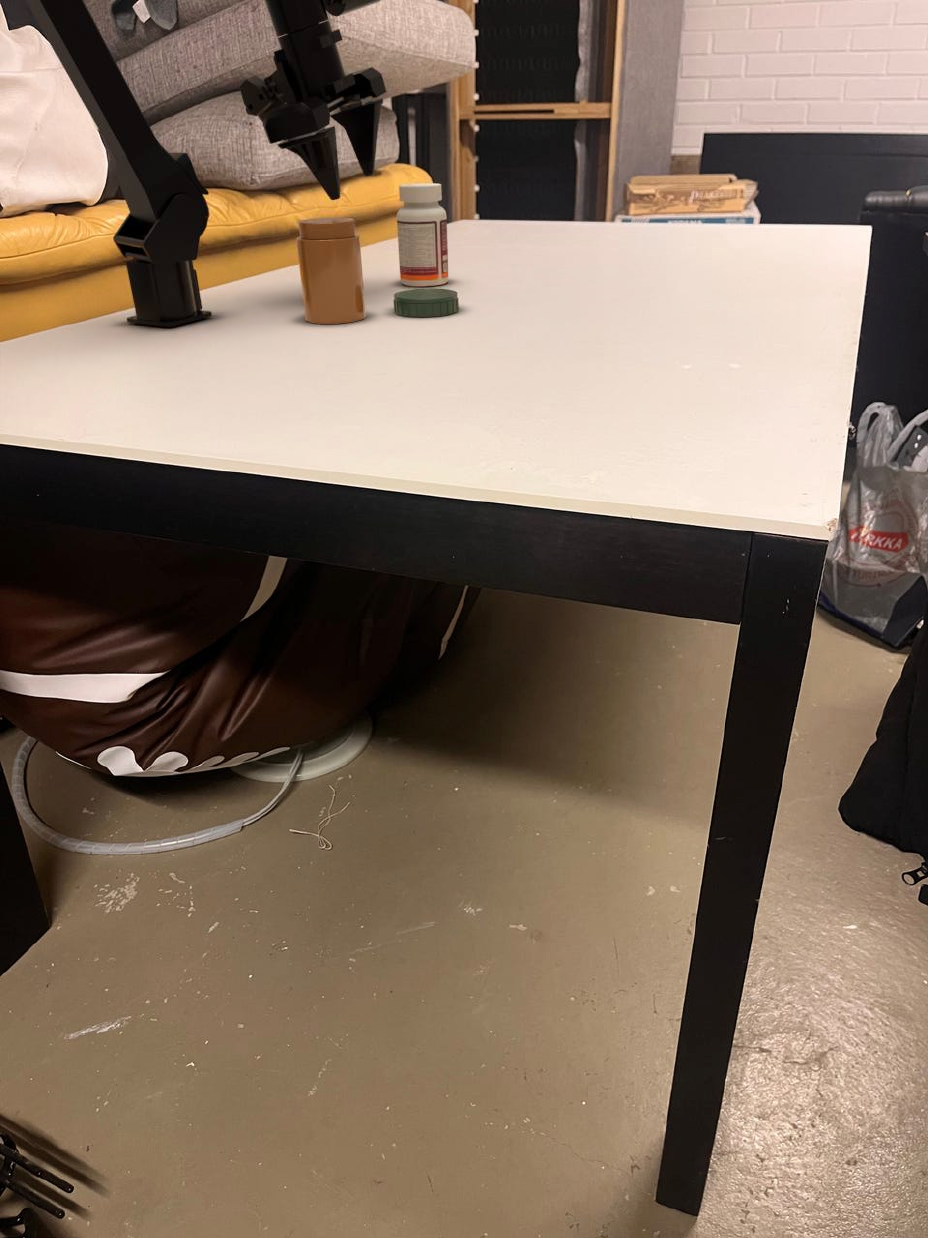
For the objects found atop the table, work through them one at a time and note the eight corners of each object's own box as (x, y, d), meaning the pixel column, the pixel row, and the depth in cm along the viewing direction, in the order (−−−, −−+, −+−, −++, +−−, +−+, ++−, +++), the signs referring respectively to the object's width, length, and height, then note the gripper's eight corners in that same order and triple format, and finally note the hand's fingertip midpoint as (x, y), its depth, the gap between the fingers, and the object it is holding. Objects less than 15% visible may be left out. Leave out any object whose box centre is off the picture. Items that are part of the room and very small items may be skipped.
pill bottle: (429, 277, 115) (425, 181, 110) (458, 282, 111) (455, 183, 105) (390, 283, 112) (384, 185, 106) (419, 288, 108) (414, 186, 102)
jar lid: (422, 302, 99) (422, 286, 98) (471, 308, 95) (471, 291, 95) (381, 313, 95) (380, 295, 94) (430, 319, 91) (429, 301, 90)
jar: (341, 326, 89) (332, 224, 84) (292, 321, 92) (281, 222, 87) (377, 314, 94) (370, 217, 89) (330, 310, 97) (321, 216, 92)
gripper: (282, 33, 101) (329, 177, 110) (194, 66, 88) (256, 226, 97) (365, 6, 96) (407, 158, 105) (284, 37, 83) (341, 207, 93)
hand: (353, 186), depth 100 cm, fingers open, 9 cm apart
